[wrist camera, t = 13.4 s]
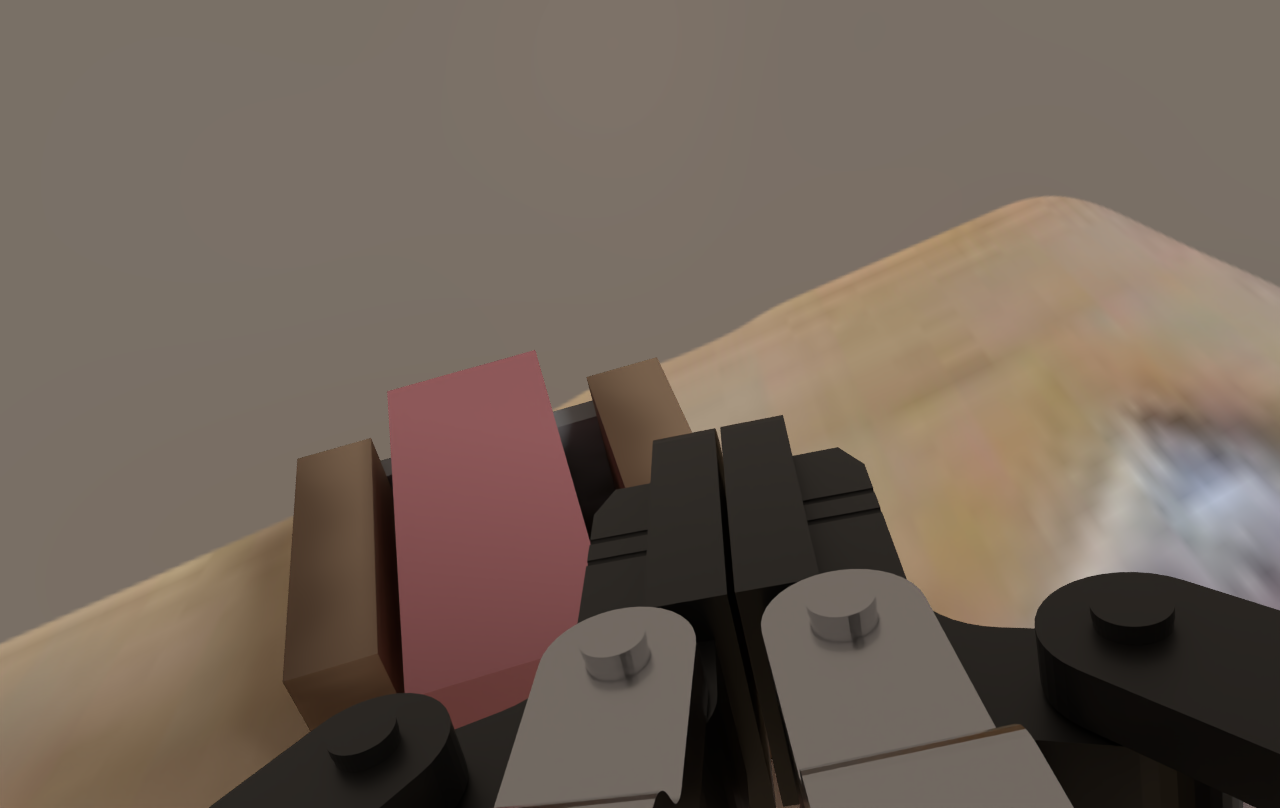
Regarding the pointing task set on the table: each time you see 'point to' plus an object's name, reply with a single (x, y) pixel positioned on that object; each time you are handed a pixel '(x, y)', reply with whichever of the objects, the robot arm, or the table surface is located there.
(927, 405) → the table surface
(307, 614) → the shelf slot
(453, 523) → the pink rectangular block
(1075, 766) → the robot arm
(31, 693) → the table surface
